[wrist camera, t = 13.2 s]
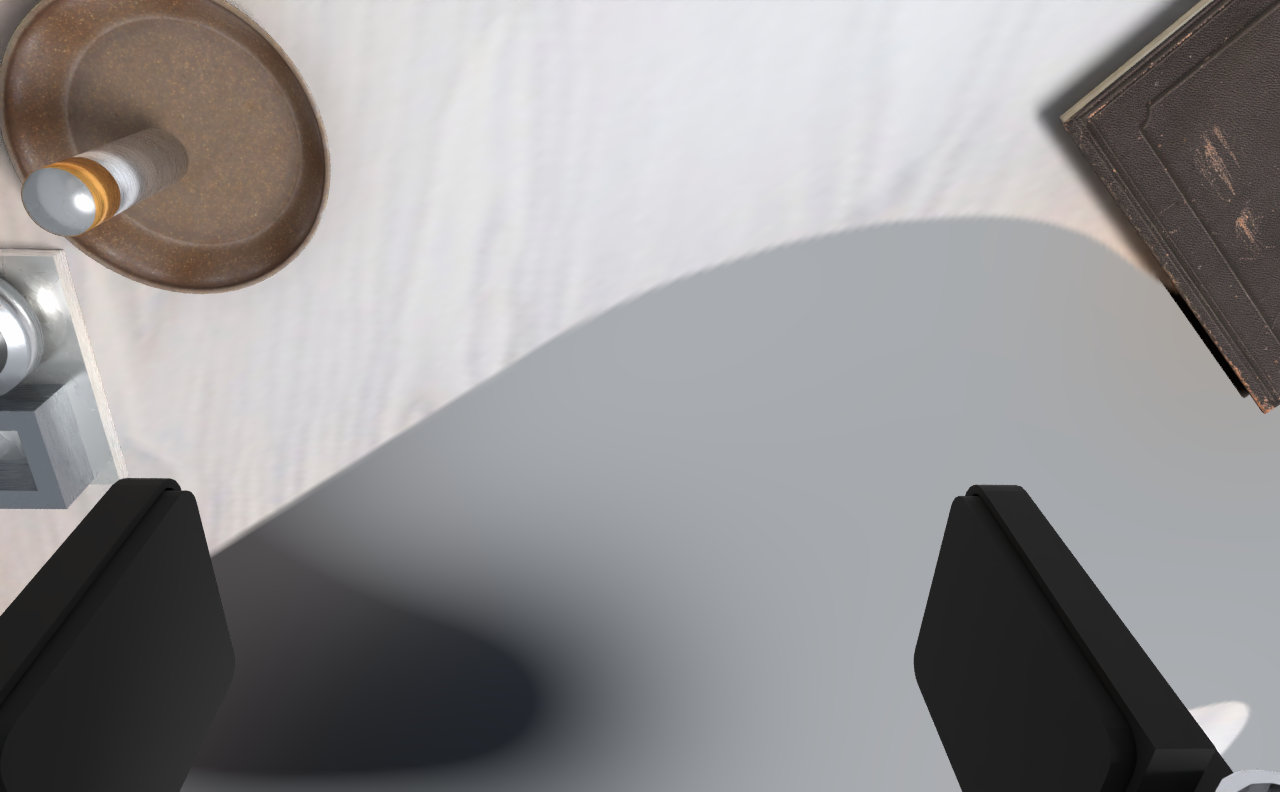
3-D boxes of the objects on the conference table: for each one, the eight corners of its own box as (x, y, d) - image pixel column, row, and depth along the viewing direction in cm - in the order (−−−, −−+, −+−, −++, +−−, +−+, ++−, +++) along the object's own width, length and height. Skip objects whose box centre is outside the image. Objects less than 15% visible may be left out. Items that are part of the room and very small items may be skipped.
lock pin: (121, 131, 41) (9, 171, 33) (178, 124, 41) (80, 162, 33) (142, 188, 42) (38, 240, 34) (197, 181, 42) (107, 232, 34)
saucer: (269, -66, 40) (248, -66, 37) (385, 241, 47) (374, 259, 44) (-34, 12, 41) (-74, 18, 38) (124, 301, 48) (99, 322, 45)
